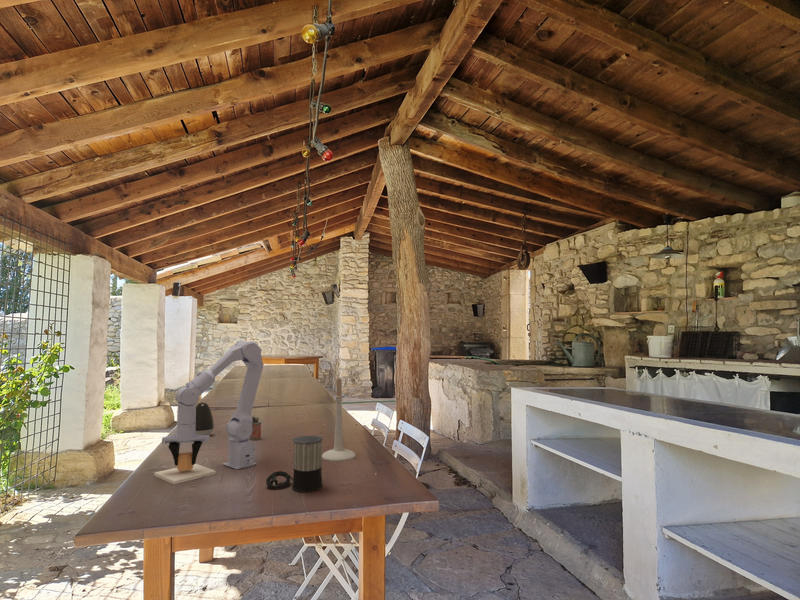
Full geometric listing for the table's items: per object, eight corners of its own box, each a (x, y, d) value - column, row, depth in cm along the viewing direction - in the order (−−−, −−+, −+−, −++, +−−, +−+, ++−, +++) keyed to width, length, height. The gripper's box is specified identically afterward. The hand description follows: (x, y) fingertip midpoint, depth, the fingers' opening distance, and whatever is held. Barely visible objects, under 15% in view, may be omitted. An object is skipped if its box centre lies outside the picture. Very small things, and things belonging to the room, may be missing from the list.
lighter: (262, 438, 210) (262, 415, 211) (259, 440, 207) (259, 417, 208) (244, 438, 211) (245, 415, 212) (241, 440, 208) (241, 417, 208)
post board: (215, 474, 160) (216, 459, 160) (173, 484, 149) (174, 468, 149) (195, 466, 169) (195, 452, 169) (154, 475, 158) (154, 461, 158)
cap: (194, 466, 162) (194, 451, 162) (191, 470, 157) (191, 454, 158) (179, 467, 161) (180, 452, 161) (176, 471, 156) (176, 455, 157)
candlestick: (339, 450, 190) (339, 375, 192) (362, 456, 182) (362, 377, 184) (314, 457, 180) (315, 377, 182) (337, 463, 172) (338, 379, 174)
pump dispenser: (209, 432, 222) (210, 399, 223) (216, 436, 214) (217, 402, 215) (186, 436, 216) (187, 402, 217) (193, 440, 208) (194, 404, 209)
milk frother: (327, 489, 144) (327, 440, 145) (274, 498, 137) (275, 446, 138) (311, 477, 157) (312, 431, 158) (263, 484, 149) (264, 436, 150)
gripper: (211, 420, 165) (210, 460, 164) (166, 421, 162) (165, 462, 162) (207, 424, 158) (206, 465, 157) (160, 425, 155) (159, 468, 155)
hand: (185, 464), depth 159 cm, fingers closed on cap, 5 cm apart
